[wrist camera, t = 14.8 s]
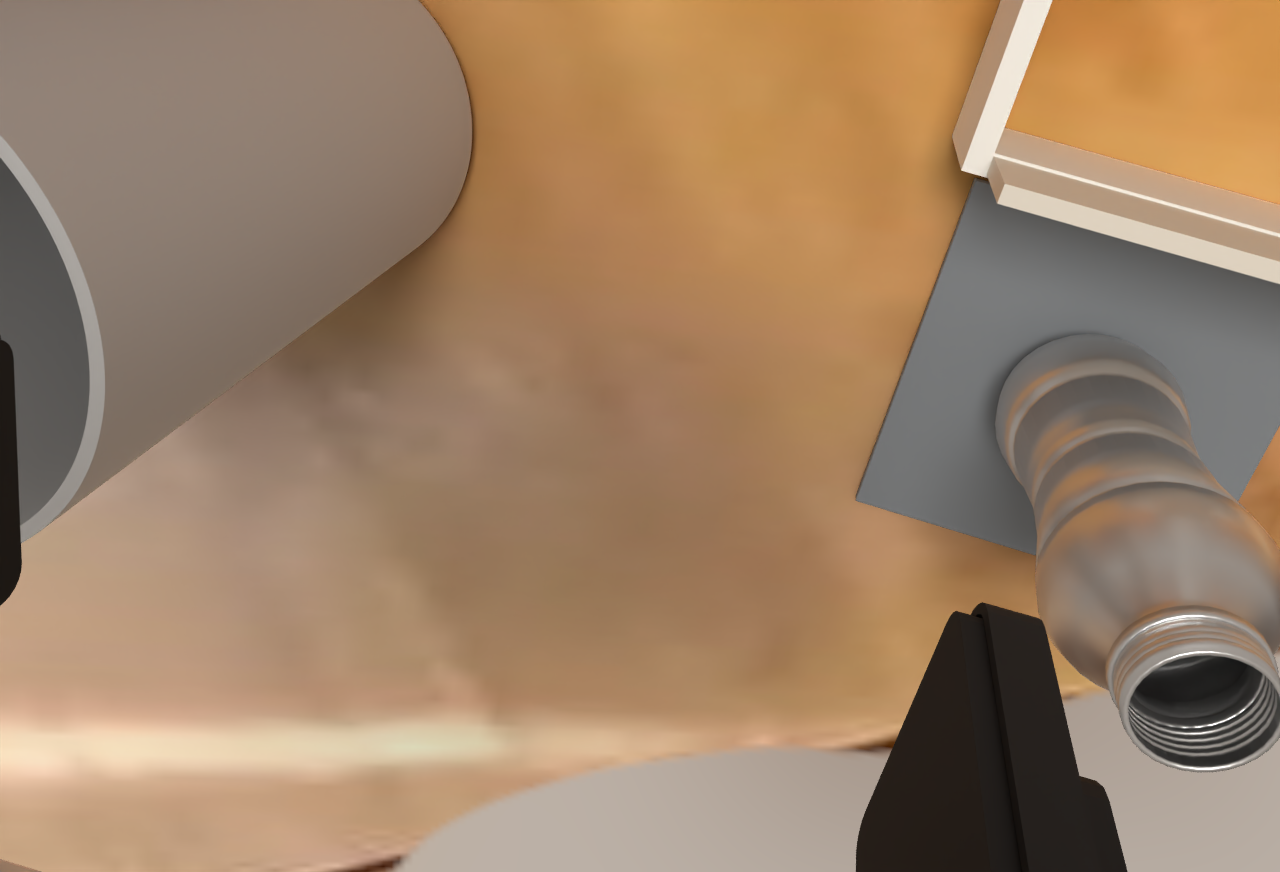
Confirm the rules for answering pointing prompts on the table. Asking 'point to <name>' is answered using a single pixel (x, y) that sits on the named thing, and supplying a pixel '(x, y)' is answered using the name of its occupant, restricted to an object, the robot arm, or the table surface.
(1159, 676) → the plastic bottle
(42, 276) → the cylinder vase
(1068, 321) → the mat
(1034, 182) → the white rectangular open frame
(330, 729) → the table surface
